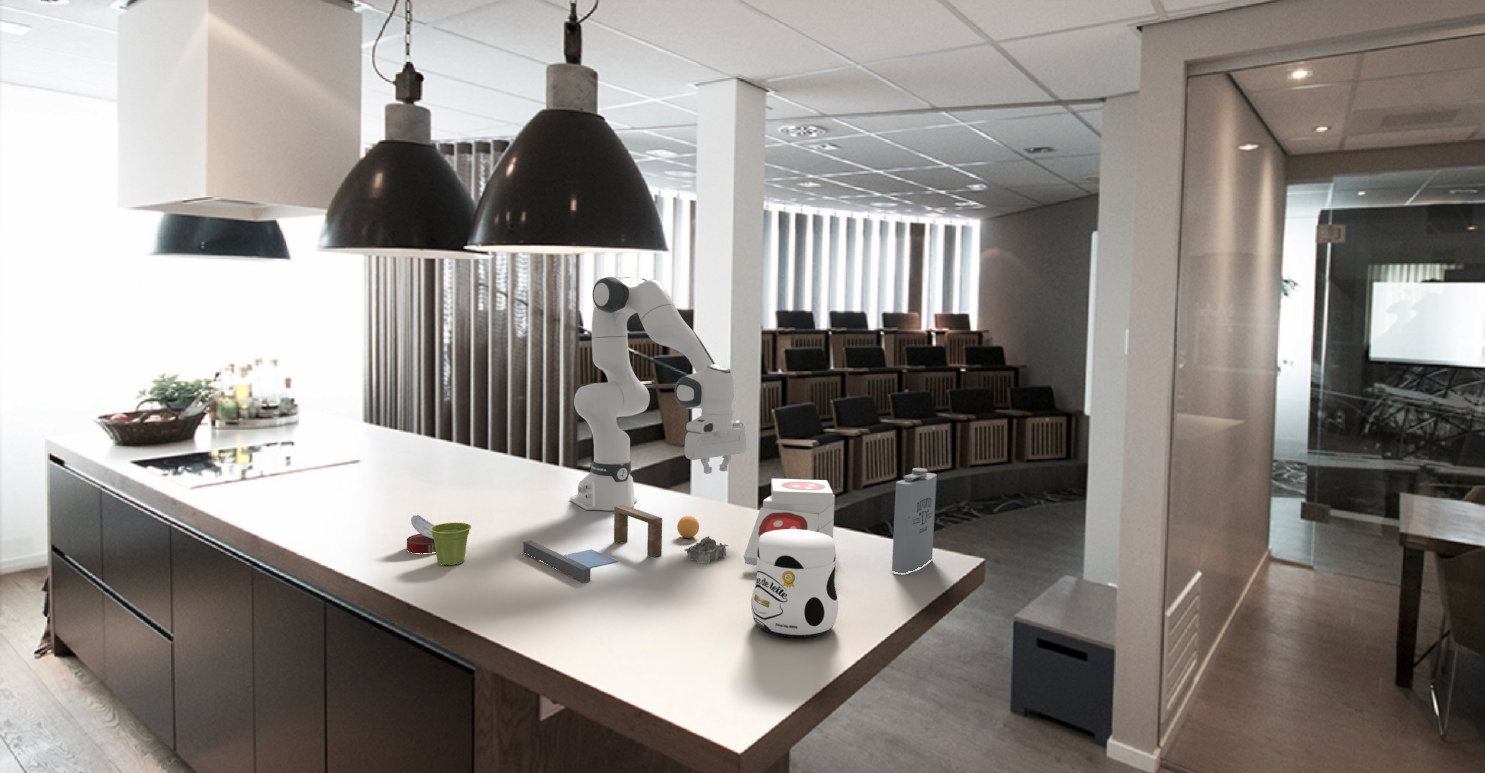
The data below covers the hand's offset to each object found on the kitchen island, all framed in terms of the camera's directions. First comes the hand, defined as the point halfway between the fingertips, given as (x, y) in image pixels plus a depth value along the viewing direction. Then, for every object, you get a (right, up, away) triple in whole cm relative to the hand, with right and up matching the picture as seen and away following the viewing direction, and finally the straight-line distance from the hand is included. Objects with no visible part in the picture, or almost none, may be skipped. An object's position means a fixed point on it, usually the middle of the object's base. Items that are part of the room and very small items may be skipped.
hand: (715, 472), depth 229 cm
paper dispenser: (+20, -20, -21) cm, 36 cm away
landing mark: (-32, -19, -27) cm, 46 cm away
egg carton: (-2, -20, -21) cm, 29 cm away
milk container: (+18, -24, -65) cm, 72 cm away
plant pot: (-63, -19, -32) cm, 73 cm away
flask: (+51, -21, -24) cm, 60 cm away
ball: (-7, -15, -5) cm, 17 cm away
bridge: (-20, -18, -16) cm, 32 cm away
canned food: (-72, -18, -21) cm, 78 cm away
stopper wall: (-38, -19, -33) cm, 53 cm away
